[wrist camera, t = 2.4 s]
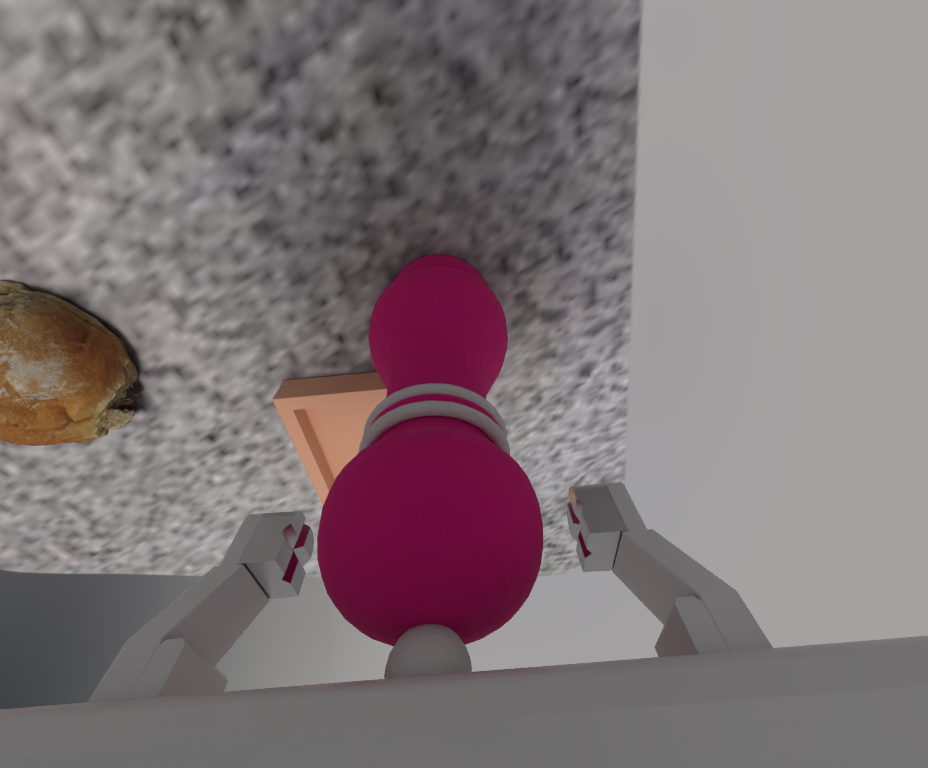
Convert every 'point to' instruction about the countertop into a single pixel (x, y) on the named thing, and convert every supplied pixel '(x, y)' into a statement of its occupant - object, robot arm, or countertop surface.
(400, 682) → the robot arm
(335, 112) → the countertop surface
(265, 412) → the countertop surface
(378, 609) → the pepper mill
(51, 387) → the bread roll
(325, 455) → the terracotta tray
